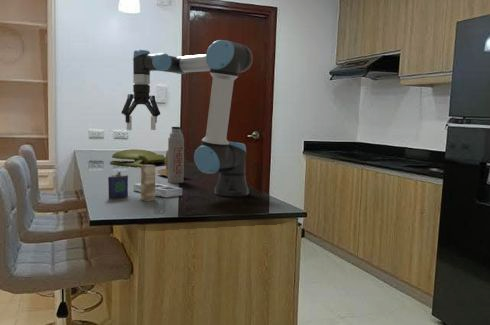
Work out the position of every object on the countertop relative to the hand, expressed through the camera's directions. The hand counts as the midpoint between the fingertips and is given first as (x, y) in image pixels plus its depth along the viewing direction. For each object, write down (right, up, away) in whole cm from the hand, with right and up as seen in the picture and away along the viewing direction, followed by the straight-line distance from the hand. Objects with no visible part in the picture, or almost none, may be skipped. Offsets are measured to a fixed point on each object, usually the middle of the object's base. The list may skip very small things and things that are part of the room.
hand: (141, 130), depth 218 cm
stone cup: (+8, -23, +38) cm, 45 cm away
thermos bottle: (+13, -25, +19) cm, 34 cm away
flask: (-3, -30, -29) cm, 41 cm away
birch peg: (+10, -30, -31) cm, 45 cm away
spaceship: (-23, -17, +92) cm, 96 cm away
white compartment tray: (+10, -29, -15) cm, 34 cm away
